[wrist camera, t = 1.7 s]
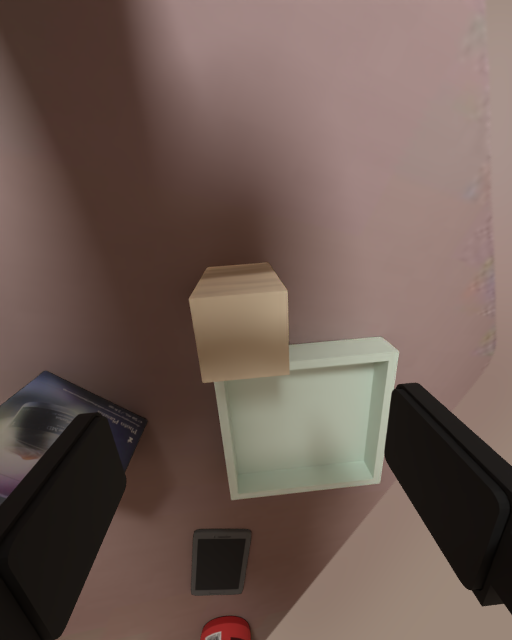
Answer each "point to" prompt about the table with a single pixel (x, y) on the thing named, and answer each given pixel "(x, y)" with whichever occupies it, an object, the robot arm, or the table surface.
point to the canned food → (226, 629)
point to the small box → (54, 425)
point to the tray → (309, 420)
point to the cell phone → (219, 561)
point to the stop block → (240, 323)
